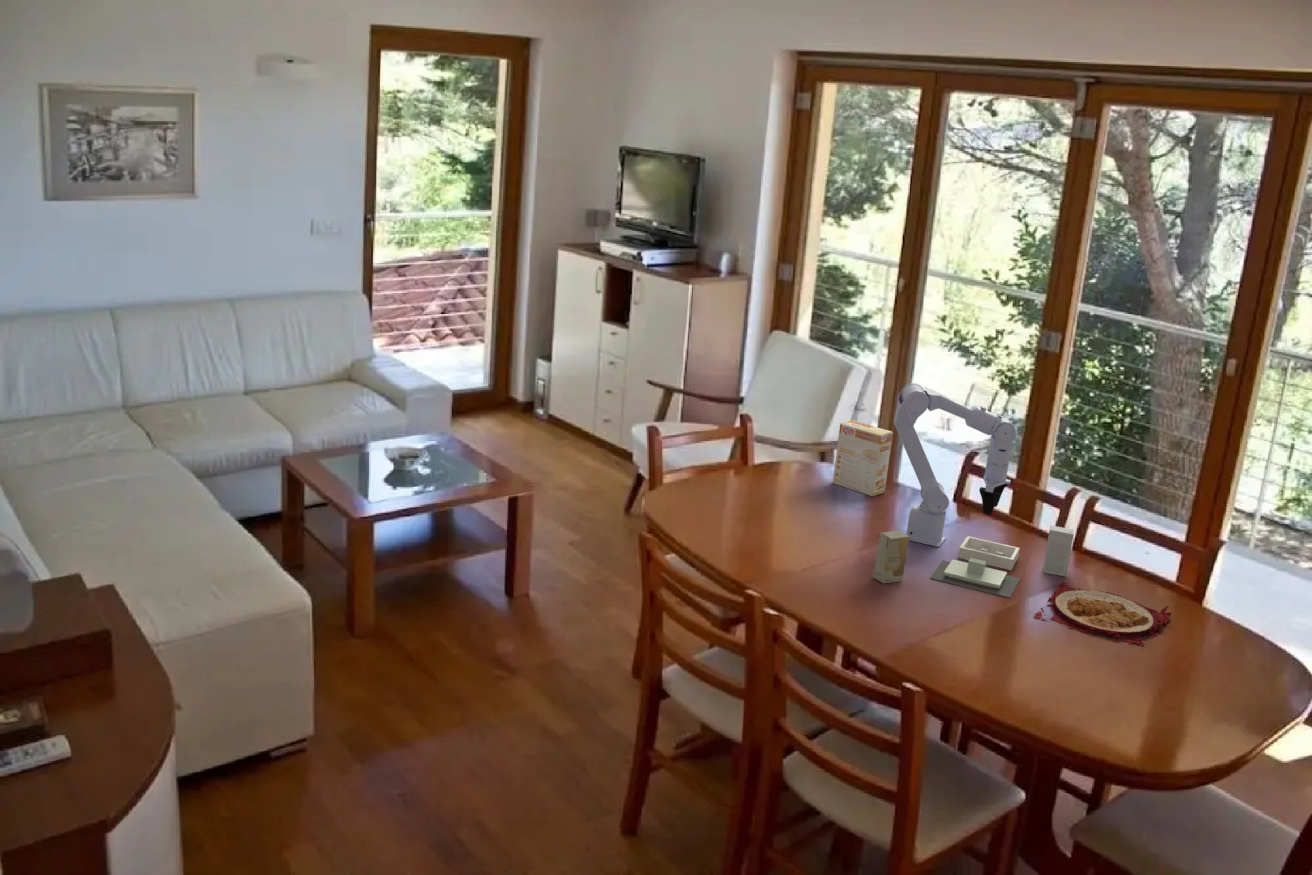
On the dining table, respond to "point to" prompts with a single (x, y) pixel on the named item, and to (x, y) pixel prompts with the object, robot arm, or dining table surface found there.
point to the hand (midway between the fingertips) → (990, 510)
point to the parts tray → (989, 552)
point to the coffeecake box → (862, 457)
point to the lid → (975, 573)
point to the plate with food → (1105, 614)
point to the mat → (1004, 590)
